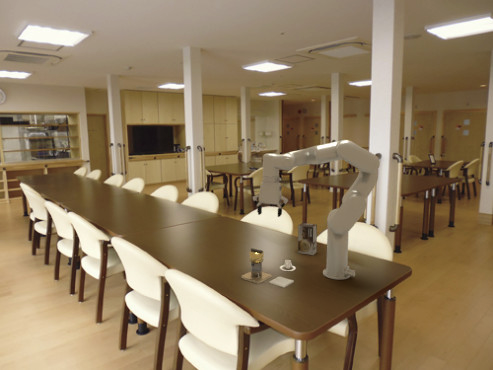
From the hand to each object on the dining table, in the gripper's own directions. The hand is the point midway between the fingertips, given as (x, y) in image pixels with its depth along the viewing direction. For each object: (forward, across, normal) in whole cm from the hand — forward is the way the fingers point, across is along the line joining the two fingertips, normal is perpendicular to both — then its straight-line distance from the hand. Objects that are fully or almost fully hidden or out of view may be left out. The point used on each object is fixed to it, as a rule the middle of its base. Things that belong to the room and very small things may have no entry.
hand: (269, 215), depth 168 cm
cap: (+19, +2, +10) cm, 22 cm away
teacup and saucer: (+28, -11, -9) cm, 31 cm away
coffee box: (+28, -13, -33) cm, 45 cm away
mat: (+28, -10, +11) cm, 31 cm away
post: (+28, +2, +10) cm, 30 cm away
